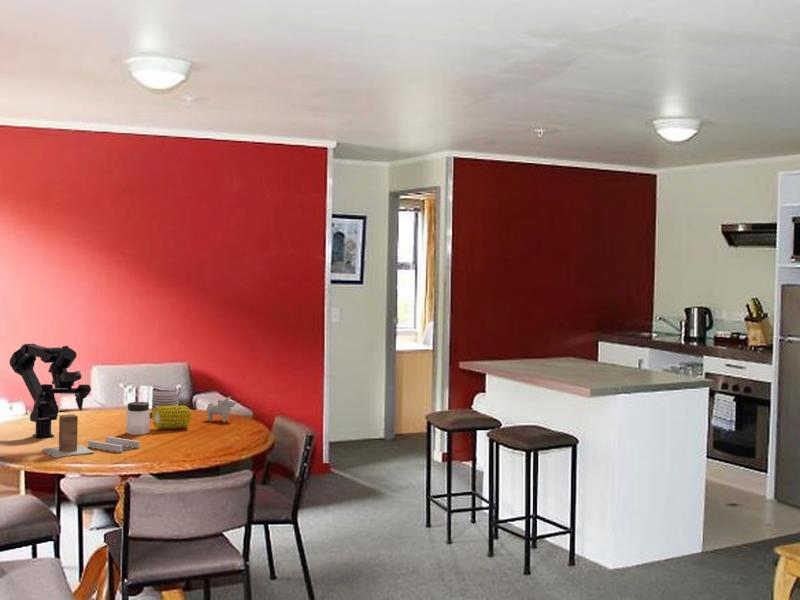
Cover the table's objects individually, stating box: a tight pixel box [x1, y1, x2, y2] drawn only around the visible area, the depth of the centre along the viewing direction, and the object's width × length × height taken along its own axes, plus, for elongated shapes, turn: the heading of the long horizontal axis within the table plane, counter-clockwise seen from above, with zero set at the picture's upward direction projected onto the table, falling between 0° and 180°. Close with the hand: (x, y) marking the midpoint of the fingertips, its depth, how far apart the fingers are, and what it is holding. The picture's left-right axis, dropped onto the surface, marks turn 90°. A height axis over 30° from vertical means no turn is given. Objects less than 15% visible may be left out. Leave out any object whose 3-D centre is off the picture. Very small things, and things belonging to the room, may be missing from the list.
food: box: [151, 405, 192, 430], centre depth 371 cm, size 15×12×10 cm
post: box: [58, 414, 79, 452], centre depth 322 cm, size 5×5×12 cm
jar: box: [126, 401, 151, 436], centre depth 360 cm, size 9×8×12 cm
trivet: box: [42, 444, 95, 458], centre depth 322 cm, size 14×14×1 cm
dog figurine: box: [206, 396, 237, 423], centre depth 392 cm, size 5×13×11 cm, turn 86°
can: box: [151, 385, 179, 412], centre depth 407 cm, size 11×11×12 cm
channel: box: [87, 436, 141, 453], centre depth 331 cm, size 16×10×2 cm, turn 64°
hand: (68, 410), depth 330 cm, fingers open, 9 cm apart
